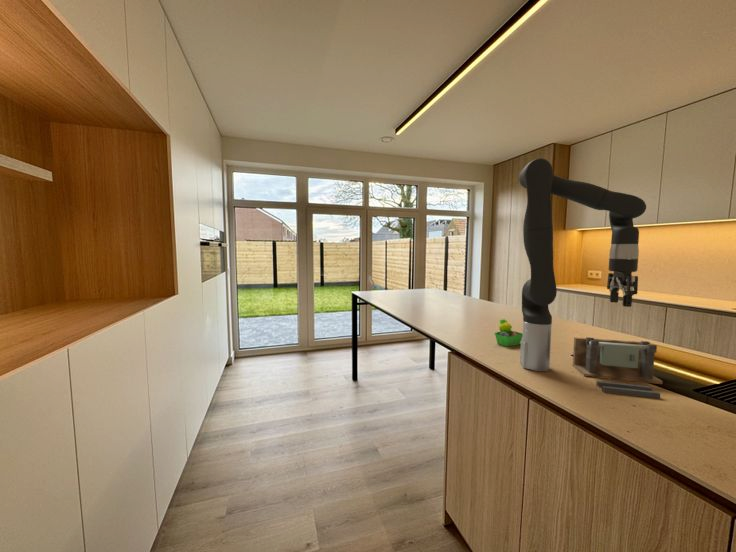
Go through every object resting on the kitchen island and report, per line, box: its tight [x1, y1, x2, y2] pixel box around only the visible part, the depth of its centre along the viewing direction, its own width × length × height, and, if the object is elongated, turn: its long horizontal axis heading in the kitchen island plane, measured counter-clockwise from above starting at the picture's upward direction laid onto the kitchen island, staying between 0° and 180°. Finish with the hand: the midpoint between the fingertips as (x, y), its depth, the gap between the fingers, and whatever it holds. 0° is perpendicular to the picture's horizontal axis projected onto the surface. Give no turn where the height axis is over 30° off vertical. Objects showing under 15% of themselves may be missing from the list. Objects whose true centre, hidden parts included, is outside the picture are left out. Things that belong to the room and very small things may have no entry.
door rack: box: [595, 380, 661, 399], centre depth 90 cm, size 14×5×2 cm, turn 74°
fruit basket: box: [494, 318, 523, 347], centre depth 138 cm, size 11×9×11 cm
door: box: [589, 341, 647, 368], centre depth 100 cm, size 18×3×8 cm, turn 74°
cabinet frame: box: [572, 336, 663, 385], centre depth 103 cm, size 22×10×13 cm, turn 74°
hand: (620, 304), depth 101 cm, fingers open, 8 cm apart
